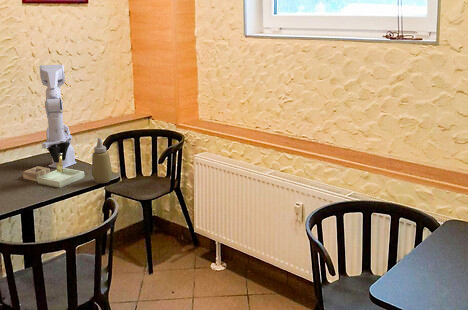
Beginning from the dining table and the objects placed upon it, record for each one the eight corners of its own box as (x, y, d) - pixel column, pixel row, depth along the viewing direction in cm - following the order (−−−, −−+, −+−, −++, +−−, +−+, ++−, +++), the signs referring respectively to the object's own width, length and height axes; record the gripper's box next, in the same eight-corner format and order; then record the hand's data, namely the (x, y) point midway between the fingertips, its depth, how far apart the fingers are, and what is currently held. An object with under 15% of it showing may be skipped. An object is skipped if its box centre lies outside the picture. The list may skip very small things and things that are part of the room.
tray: (62, 173, 235) (62, 167, 234) (84, 177, 230) (84, 171, 229) (37, 183, 223) (37, 177, 222) (60, 187, 218) (59, 181, 217)
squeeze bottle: (105, 185, 220) (102, 142, 214) (88, 183, 222) (84, 140, 217) (116, 179, 227) (113, 136, 222) (99, 177, 230) (96, 135, 224)
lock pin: (59, 169, 227) (58, 151, 225) (65, 171, 226) (64, 152, 223) (54, 171, 225) (52, 153, 222) (60, 173, 223) (58, 154, 221)
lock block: (38, 173, 235) (37, 166, 234) (50, 175, 232) (49, 168, 231) (23, 178, 228) (22, 171, 228) (36, 181, 225) (35, 174, 224)
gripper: (50, 133, 212) (53, 167, 216) (76, 125, 224) (79, 157, 228) (36, 131, 215) (40, 165, 219) (63, 123, 227) (66, 155, 231)
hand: (59, 161), depth 224 cm, fingers closed on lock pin, 3 cm apart
